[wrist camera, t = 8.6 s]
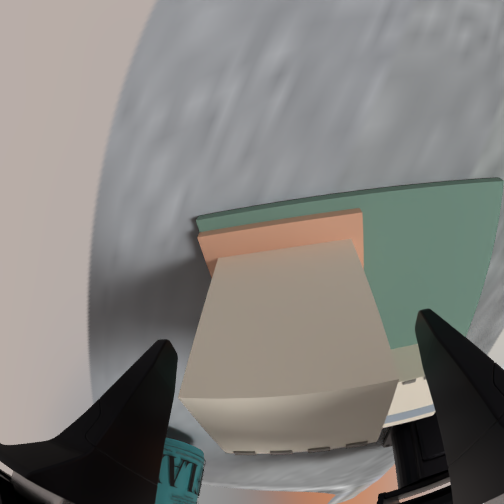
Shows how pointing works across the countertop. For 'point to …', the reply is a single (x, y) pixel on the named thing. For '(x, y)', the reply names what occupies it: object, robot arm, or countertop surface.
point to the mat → (408, 245)
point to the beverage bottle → (180, 473)
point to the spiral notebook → (409, 388)
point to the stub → (290, 353)
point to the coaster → (283, 235)
